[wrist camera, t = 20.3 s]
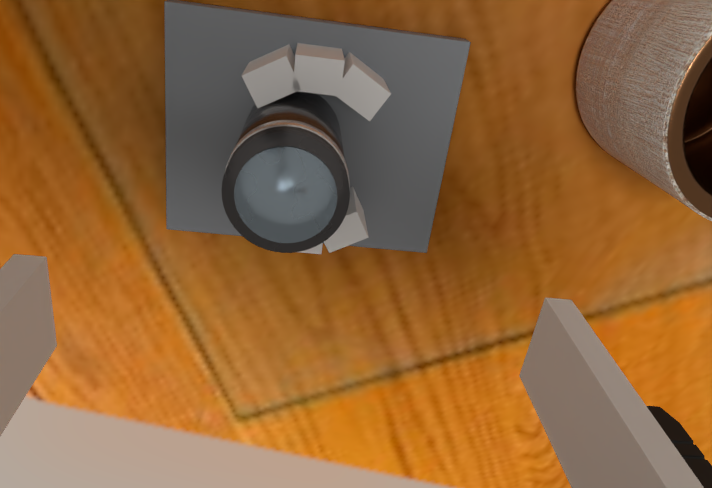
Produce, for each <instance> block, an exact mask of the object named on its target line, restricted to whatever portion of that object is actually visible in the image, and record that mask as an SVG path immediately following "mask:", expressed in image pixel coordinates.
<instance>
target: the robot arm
mask: <svg viewBox="0 0 712 488" xmlns="http://www.w3.org/2000/svg"><path fill="white" fill-rule="evenodd" d="M56 346H57V342H56V333H55V325H54V316H53V308H52V299H51V291H50V283H49V274H48V266H47V257H43V256H30V255H18V254H14V255H13V256H12V257H11V258H10V259H9V260H8V261H7V262H6V263H5V264H4V266H3V267H2V268H1V269H0V436H1V434H2V433H3V431H4V429H5V428H6V426H7V424H8V423H9V421H10V420H11V418H12V417H13V415H14V413H15V412H16V410H17V409H18V407H19V405H20V404H21V402H22V400H23V399H24V397H25V396H26V394H27V393H28V391H29V389H30V388H31V386H32V385H33V383H34V381H35V380H36V378H37V377H38V375H39V373H40V372H41V370H42V369H43V367H44V365H45V364H46V362H47V361H48V359H49V357H50V356H51V354H52V353H53V351H54V349H55V348H56ZM520 378H521V380H522V382H523V384H524V386H525V389H526V391H527V393H528V395H529V397H530V399H531V401H532V404H533V406H534V408H535V410H536V412H537V414H538V416H539V419H540V421H541V423H542V425H543V427H544V429H545V431H546V434H547V436H548V438H549V440H550V442H551V444H552V446H553V449H554V451H555V453H556V455H557V457H558V459H559V461H560V464H561V466H562V468H563V470H564V472H565V474H566V476H567V479H568V481H569V483H570V485H571V487H572V488H712V466H711V464H710V463H709V462H708V460H705V459H704V455H703V454H702V452H701V451H700V450H699V448H698V447H697V446H696V445H694V444H693V440H692V439H691V438H690V436H689V435H688V434H687V432H686V431H685V430H684V428H683V427H682V426H681V424H680V423H679V422H678V421H676V420H675V419H674V418H673V417H671V416H670V415H669V414H668V413H667V412H665V411H664V410H663V409H662V408H660V407H655V406H646V405H645V404H644V402H643V401H642V399H641V398H640V396H639V395H638V394H637V392H636V391H635V389H634V388H633V387H632V385H631V384H630V382H629V381H628V379H627V378H626V377H625V375H624V374H623V372H622V371H621V369H620V368H619V367H618V365H617V364H616V362H615V361H614V360H613V358H612V357H611V355H610V354H609V352H608V351H607V350H606V348H605V347H604V345H603V344H602V343H601V341H600V340H599V338H598V337H597V335H596V334H595V333H594V331H593V330H592V328H591V327H590V326H589V324H588V323H587V321H586V320H585V318H584V317H583V316H582V314H581V313H580V311H579V310H578V309H577V307H576V306H575V304H574V303H573V301H572V300H567V299H555V298H545V300H544V303H543V306H542V309H541V312H540V315H539V318H538V321H537V324H536V327H535V330H534V333H533V336H532V339H531V342H530V345H529V348H528V351H527V354H526V357H525V361H524V364H523V367H522V370H521V373H520Z"/></svg>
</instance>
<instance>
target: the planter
mask: <svg viewBox="0 0 712 488" xmlns="http://www.w3.org/2000/svg"><path fill="white" fill-rule="evenodd" d="M576 98H577V104H578V109H579V112H580V116H581V118H582V121H583V123H584V125H585V127H586V128H587V130H588V132H589V133H590V135H591V136H592V137H593V139H594V140H595V141H596V142H597V143H598V144H599V146H600V147H601V148H602V149H604V150H605V151H606V152H607V153H609V154H610V155H611V156H613V157H614V158H616V159H617V160H619V161H620V162H622V163H623V164H625V165H626V166H628V167H629V168H631V169H632V170H634V171H635V172H637V173H638V174H640V175H641V176H643V177H644V178H646V179H648V180H649V181H651V182H652V183H654V184H655V185H657V186H658V187H660V188H661V189H663V190H664V191H666V192H667V193H668V194H670V195H671V196H673V197H674V198H676V199H677V200H679V201H680V202H682V203H683V204H684V205H686V206H687V207H689V208H690V209H692V210H693V211H695V212H696V213H697V214H699V215H701V216H703V217H704V218H706V219H708V220H711V221H712V0H612V1H611V2H610V3H609V4H608V5H607V6H606V8H605V9H604V10H603V12H602V13H601V14H600V16H599V17H598V19H597V20H596V22H595V23H594V25H593V27H592V29H591V30H590V32H589V35H588V37H587V39H586V41H585V44H584V46H583V49H582V52H581V55H580V59H579V63H578V68H577V75H576Z"/></svg>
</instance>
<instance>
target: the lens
mask: <svg viewBox="0 0 712 488" xmlns="http://www.w3.org/2000/svg"><path fill="white" fill-rule="evenodd" d="M221 191H222V201H223V206H224V209H225V212H226V215H227V217H228V219H229V220H230V222H231V223H232V225H233V226H234V228H235V229H236V230H237V231H238V232H239V233H240V234H241V235H242V236H243V237H244V238H245V239H247V240H248V241H250V242H251V243H253V244H255V245H257V246H259V247H261V248H264V249H267V250H270V251H275V252H282V253H292V252H300V251H304V250H308V249H311V248H313V247H315V246H317V245H319V244H321V243H323V242H324V241H326V240H327V239H328V238H329V237H331V236H332V235H333V234H334V233H335V232H336V230H337V229H338V228H339V227H340V225H341V224H342V222H343V220H344V218H345V216H346V213H347V210H348V206H349V201H350V182H349V174H348V168H347V164H346V161H345V156H344V150H343V144H342V138H341V131H340V126H339V121H338V119H337V116H336V114H335V112H334V110H333V109H332V107H331V106H330V105H329V103H328V102H327V101H326V100H325V99H323V98H322V97H321V96H320V95H318V94H315V93H307V92H299V91H297V92H294V93H292V94H290V95H287V96H285V97H283V98H281V99H278V100H276V101H274V102H271V103H269V104H267V105H265V106H262V107H260V108H257V106H256V104H255V105H254V106H253V107H252V109H251V111H250V113H249V115H248V118H247V120H246V122H245V125H244V127H243V130H242V132H241V135H240V137H239V139H238V142H237V144H236V146H235V148H234V149H233V151H232V153H231V155H230V158H229V160H228V163H227V165H226V169H225V173H224V177H223V181H222V189H221Z"/></svg>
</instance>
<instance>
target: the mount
mask: <svg viewBox="0 0 712 488" xmlns="http://www.w3.org/2000/svg"><path fill="white" fill-rule="evenodd" d="M469 47H470V42H469V41H468V40H466V39H462V38H455V37H447V36H440V35H432V34H425V33H417V32H410V31H403V30H395V29H388V28H380V27H373V26H365V25H358V24H350V23H343V22H335V21H328V20H321V19H313V18H306V17H298V16H291V15H283V14H276V13H268V12H261V11H253V10H246V9H239V8H231V7H224V6H216V5H209V4H201V3H194V2H186V1H179V0H167V1H165V109H166V216H167V229H171V230H182V231H193V232H204V233H215V234H226V235H237V236H242V235H241V234H240V233H239V232H238V231H237V230H236V229H235V228H234V226H233V225H232V223H231V222H230V220H229V219H228V217H227V215H226V212H225V209H224V206H223V201H222V191H221V189H222V181H223V177H224V173H225V169H226V165H227V163H228V160H229V158H230V155H231V153H232V151H233V149H234V148H235V146H236V144H237V142H238V139H239V137H240V135H241V132H242V130H243V127H244V125H245V122H246V120H247V118H248V115H249V113H250V111H251V109H252V107H253V106H254V105H255V104H256V106H257V108H260V107H262V106H265V105H267V104H269V103H271V102H274V101H276V100H278V99H281V98H283V97H285V96H287V95H290V94H292V93H294V92H297V91H299V92H307V93H315V94H318V95H320V96H321V97H322V98H323V99H325V100H326V101H327V102H328V103H329V105H330V106H331V107H332V109H333V110H334V112H335V114H336V116H337V119H338V121H339V126H340V131H341V138H342V144H343V150H344V156H345V161H346V164H347V168H348V174H349V182H350V201H349V206H348V210H347V213H346V216H345V218H344V220H343V222H342V224H341V225H340V227H339V228H338V229H337V230H336V232H335V233H334V234H333V235H332V236H331V237H329V238H328V239H327V240H326V241H324V242H323V243H324V244H325V246H326V248H327V250H328V252H329V253H331V252H333V251H336V250H339V249H341V248H344V247H346V246H358V247H369V248H380V249H391V250H402V251H413V252H424V253H427V249H428V244H429V239H430V234H431V229H432V225H433V220H434V215H435V210H436V205H437V201H438V196H439V191H440V186H441V181H442V177H443V172H444V167H445V162H446V157H447V153H448V148H449V143H450V138H451V133H452V129H453V124H454V119H455V114H456V109H457V105H458V100H459V95H460V90H461V85H462V81H463V76H464V71H465V66H466V61H467V57H468V52H469ZM323 243H321V244H319V245H317V246H315V247H313V248H311V249H308V250H304V251H300V252H301V253H313V254H322V245H323Z"/></svg>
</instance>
